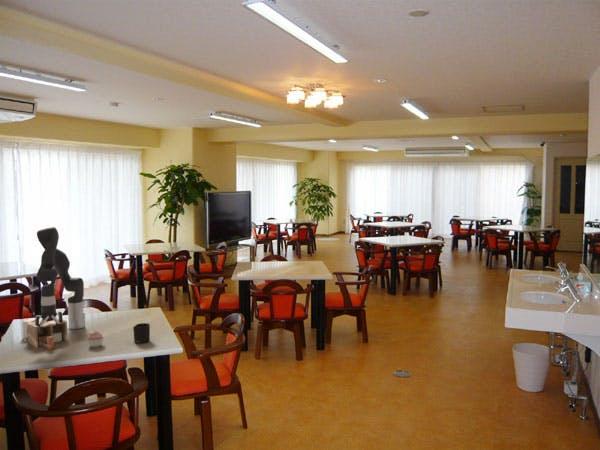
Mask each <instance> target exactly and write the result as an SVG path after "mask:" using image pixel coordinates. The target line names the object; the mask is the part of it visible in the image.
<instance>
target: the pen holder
mask: <svg viewBox="0 0 600 450" xmlns="http://www.w3.org/2000/svg"><path fill="white" fill-rule="evenodd" d="M132 329H133V341H134V343H135V344H137V345H138V344H139V345H140V344H146V343H149V342H150V338H151V337H150V336H151V335H150V334H151V332H150V330H151V327H150V324H149V323H143V322H140V323H138V324H137V323H136V325H134V326H133V328H132Z"/></svg>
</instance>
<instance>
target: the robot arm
mask: <svg viewBox="0 0 600 450" xmlns="http://www.w3.org/2000/svg"><path fill="white" fill-rule="evenodd" d="M36 238H37V239H38V242H39V243H40V245H41V246H42V248H43V249H44V250H43V252H42V254H41V257H40V259H41V260H40V267H39V268H38V270H37V274H36V279H37V280H38V281H39V282H41V283H42V282H50V283H47V284H45V285H43V286H41V287H40V293H41V295H40V296H41V299H40V306H41V309H40V311H41V315H40V314H39V315H38V314H37V315H35V317H34V319H35V325H36V326H39V332H40V333H43V327H42V326H43V324H44V323H45V322H49V321H53V320H54V321H55V322H56V330H59V328H60V327H59V324H60V323H61V322H63V320H64V319H63V312H62V311H58V312H57V304H56V303H57V301H56V282H57V278H58V277H59V279H60V281H61V282H62V285H63V288H64V289H65V290H66V292H70V293H71V292H72V293H74V294H73V296H69V297H68V298H67V313H68V314H67V315H68V316H67V317H68V329H69V330H79V329H83V328H85V327H86V317H85V316H86V315H85V312H84V295H85V294H84V292H85V291H84V289H85V288H84V287H85V286H84V284H85V283H84V280H83V278H81V277H72V276H71V275H70V274H69V269H70V266H71V262H70V260H69V258H68V256H67V254H66V253H65V252H64V251H62V250H60V249H59V248H57V247H58V244H59V239H60V235H59V231H58V230H57V228H56V227H55V226H49V227H45V228H43V229H39V230H37V232H36ZM58 275H59V276H58ZM57 317H58V318H59V321H58V320H57V319H56V318H57ZM40 320H41V322H40V324H39V321H40Z"/></svg>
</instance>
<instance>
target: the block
mask: <svg viewBox="0 0 600 450" xmlns="http://www.w3.org/2000/svg"><path fill="white" fill-rule="evenodd" d="M52 334H53V336H54V343H58V342H62V341H63V339H62V333H61V332H59V331H56V332H52Z"/></svg>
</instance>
